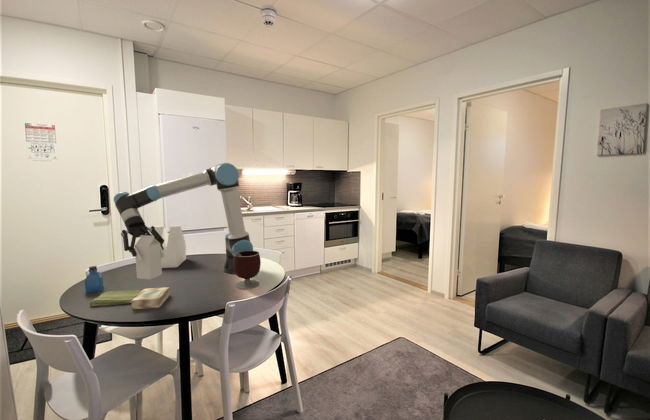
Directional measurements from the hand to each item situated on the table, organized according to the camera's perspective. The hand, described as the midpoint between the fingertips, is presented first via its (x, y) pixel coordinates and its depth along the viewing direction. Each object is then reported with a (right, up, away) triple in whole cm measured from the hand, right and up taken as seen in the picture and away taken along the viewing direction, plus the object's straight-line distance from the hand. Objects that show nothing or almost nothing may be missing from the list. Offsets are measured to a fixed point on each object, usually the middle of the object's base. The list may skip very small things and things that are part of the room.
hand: (152, 258), depth 135 cm
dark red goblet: (+35, -18, +25) cm, 47 cm away
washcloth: (-20, -21, +7) cm, 29 cm away
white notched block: (-26, -14, +66) cm, 72 cm away
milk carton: (-3, -9, +3) cm, 10 cm away
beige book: (-2, -20, +4) cm, 21 cm away
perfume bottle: (-40, -19, +19) cm, 48 cm away
